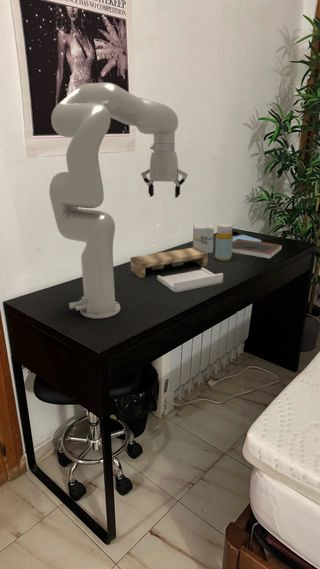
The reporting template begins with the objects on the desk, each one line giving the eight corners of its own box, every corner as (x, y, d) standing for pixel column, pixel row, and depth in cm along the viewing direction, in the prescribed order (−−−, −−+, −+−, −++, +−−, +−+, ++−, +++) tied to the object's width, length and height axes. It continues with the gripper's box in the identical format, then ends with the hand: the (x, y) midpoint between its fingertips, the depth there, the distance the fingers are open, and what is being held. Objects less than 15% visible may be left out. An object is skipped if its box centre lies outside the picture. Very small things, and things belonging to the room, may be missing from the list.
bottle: (229, 262, 173) (231, 227, 168) (213, 260, 175) (215, 226, 170) (232, 257, 179) (234, 223, 174) (216, 256, 182) (218, 222, 176)
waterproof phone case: (262, 242, 203) (262, 240, 202) (244, 246, 197) (244, 244, 196) (242, 236, 213) (243, 234, 213) (225, 240, 207) (225, 238, 207)
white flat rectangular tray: (175, 292, 143) (175, 283, 142) (157, 279, 155) (157, 270, 154) (222, 282, 152) (223, 274, 150) (202, 271, 163) (202, 263, 162)
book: (223, 251, 189) (269, 259, 178) (224, 246, 188) (270, 254, 177) (237, 243, 202) (281, 249, 191) (238, 238, 201) (281, 244, 190)
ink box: (192, 247, 193) (192, 223, 189) (210, 247, 194) (211, 222, 189) (194, 253, 185) (195, 227, 181) (213, 253, 186) (214, 227, 181)
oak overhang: (140, 277, 157) (140, 264, 155) (130, 270, 165) (130, 257, 163) (207, 266, 169) (207, 253, 167) (195, 259, 177) (195, 247, 175)
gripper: (138, 148, 146) (139, 197, 152) (186, 149, 142) (185, 199, 149) (143, 147, 153) (144, 194, 159) (189, 148, 149) (188, 195, 155)
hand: (164, 196), depth 154 cm, fingers open, 9 cm apart
